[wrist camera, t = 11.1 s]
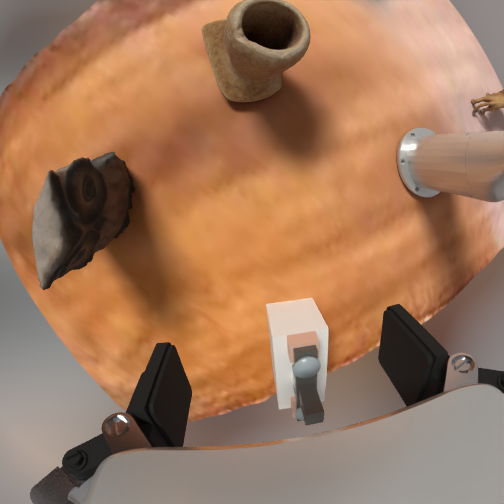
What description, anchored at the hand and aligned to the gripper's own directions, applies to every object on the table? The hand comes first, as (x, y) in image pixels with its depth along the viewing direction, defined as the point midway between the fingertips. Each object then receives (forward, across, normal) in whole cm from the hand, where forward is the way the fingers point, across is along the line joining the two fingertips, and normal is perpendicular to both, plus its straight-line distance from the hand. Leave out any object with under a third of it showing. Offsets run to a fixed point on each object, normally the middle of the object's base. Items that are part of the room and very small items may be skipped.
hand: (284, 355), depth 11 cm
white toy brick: (+32, -4, +22) cm, 39 cm away
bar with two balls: (+21, -4, +22) cm, 31 cm away
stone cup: (+32, -3, -26) cm, 41 cm away
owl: (+32, +23, -8) cm, 41 cm away
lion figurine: (+32, -56, -22) cm, 68 cm away
